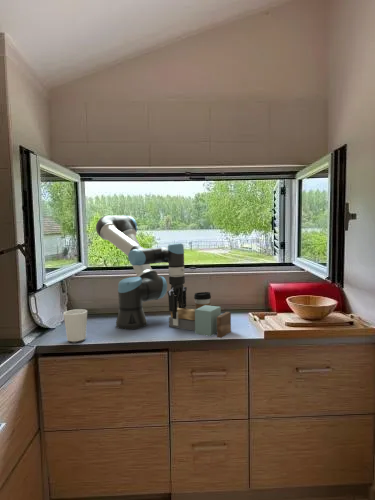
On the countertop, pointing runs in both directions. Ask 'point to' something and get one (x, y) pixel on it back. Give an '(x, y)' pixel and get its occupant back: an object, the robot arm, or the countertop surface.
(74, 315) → the cup
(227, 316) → the wall
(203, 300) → the coffee cup
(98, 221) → the robot arm
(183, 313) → the oak peg
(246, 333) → the countertop surface
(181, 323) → the rail
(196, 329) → the bore block
